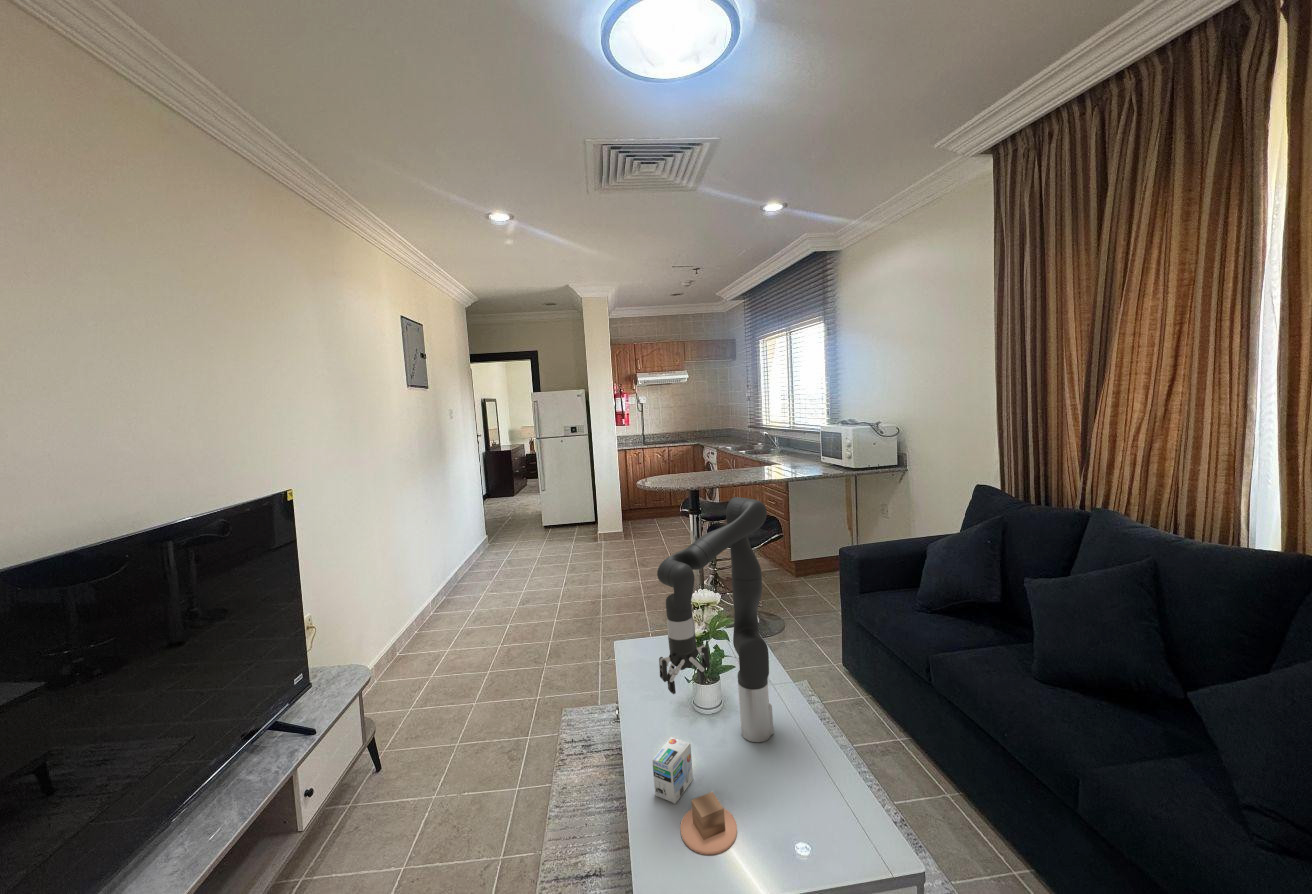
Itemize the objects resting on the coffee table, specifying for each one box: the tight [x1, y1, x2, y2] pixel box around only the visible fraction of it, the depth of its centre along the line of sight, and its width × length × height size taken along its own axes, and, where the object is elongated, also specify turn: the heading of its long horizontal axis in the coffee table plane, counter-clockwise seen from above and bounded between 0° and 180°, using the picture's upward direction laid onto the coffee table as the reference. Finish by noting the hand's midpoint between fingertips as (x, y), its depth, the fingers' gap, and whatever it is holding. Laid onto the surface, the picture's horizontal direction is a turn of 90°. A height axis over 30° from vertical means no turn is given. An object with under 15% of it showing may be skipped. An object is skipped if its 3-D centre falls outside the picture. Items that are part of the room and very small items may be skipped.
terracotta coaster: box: [679, 807, 738, 856], centre depth 129 cm, size 14×14×1 cm
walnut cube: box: [690, 791, 725, 840], centre depth 129 cm, size 6×6×6 cm
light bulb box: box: [651, 736, 694, 804], centre depth 144 cm, size 11×7×11 cm, turn 148°
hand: (686, 687), depth 144 cm, fingers open, 8 cm apart
